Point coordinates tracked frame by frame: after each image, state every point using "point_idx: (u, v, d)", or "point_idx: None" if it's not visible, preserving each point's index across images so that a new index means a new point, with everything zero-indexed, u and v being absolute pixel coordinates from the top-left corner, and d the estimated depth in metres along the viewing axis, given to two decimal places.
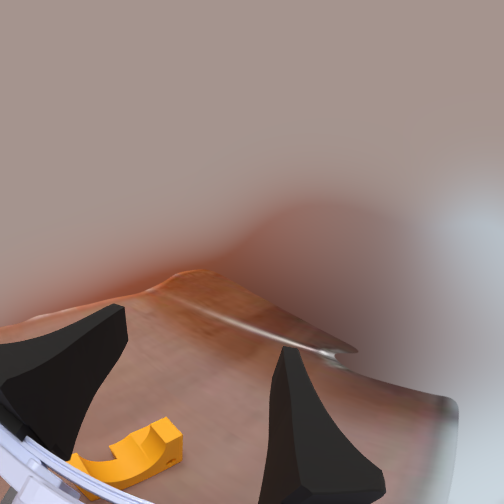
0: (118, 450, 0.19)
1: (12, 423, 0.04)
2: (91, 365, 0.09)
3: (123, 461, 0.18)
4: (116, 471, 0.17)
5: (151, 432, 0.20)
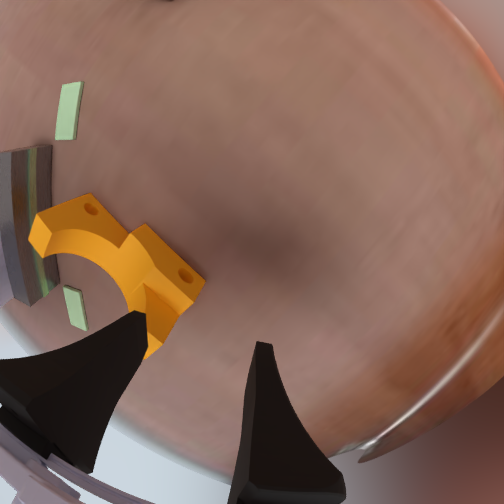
0: (130, 247, 0.18)
1: (36, 441, 0.04)
2: (113, 375, 0.09)
3: (119, 258, 0.18)
4: (101, 253, 0.18)
5: None
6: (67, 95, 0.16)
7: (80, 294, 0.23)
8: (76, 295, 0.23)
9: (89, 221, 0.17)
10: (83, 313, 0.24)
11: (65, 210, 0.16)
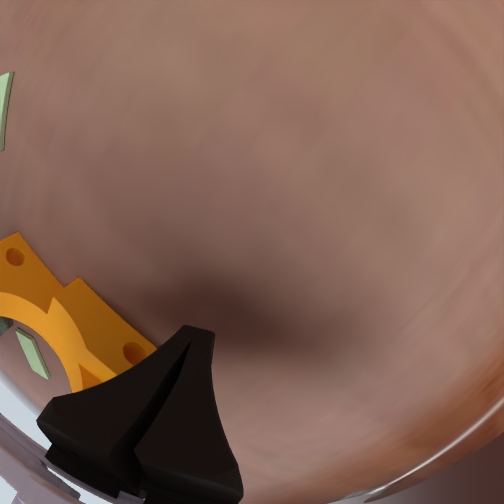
0: (58, 315, 0.11)
1: (104, 482, 0.04)
2: None
3: (50, 325, 0.11)
4: (30, 317, 0.11)
5: None
6: None
7: (33, 342, 0.16)
8: (29, 342, 0.16)
9: (10, 276, 0.10)
10: (41, 362, 0.17)
11: None
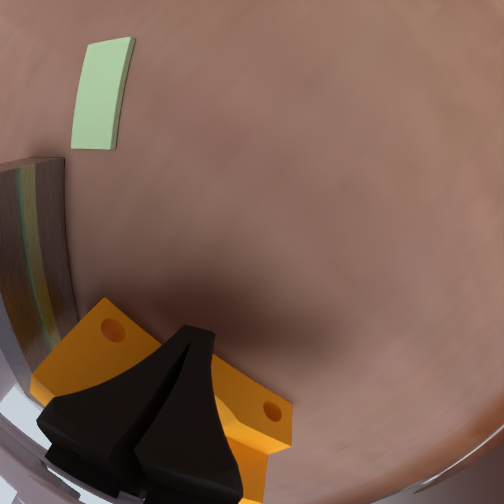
0: None
1: (104, 482, 0.04)
2: None
3: None
4: None
5: None
6: (99, 63, 0.08)
7: None
8: None
9: (117, 357, 0.11)
10: None
11: (75, 349, 0.09)
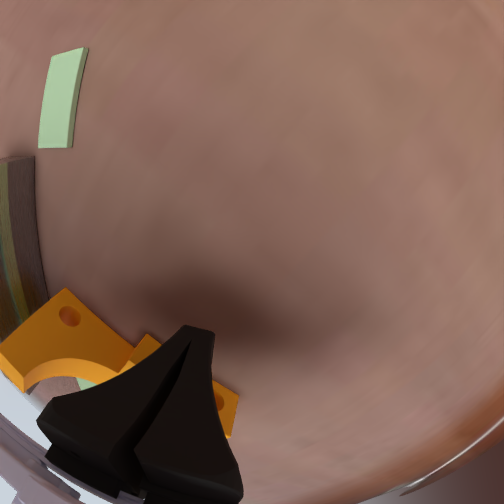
0: None
1: (104, 482, 0.04)
2: None
3: None
4: (96, 375, 0.12)
5: None
6: (59, 72, 0.08)
7: None
8: None
9: (70, 339, 0.11)
10: None
11: (34, 330, 0.10)
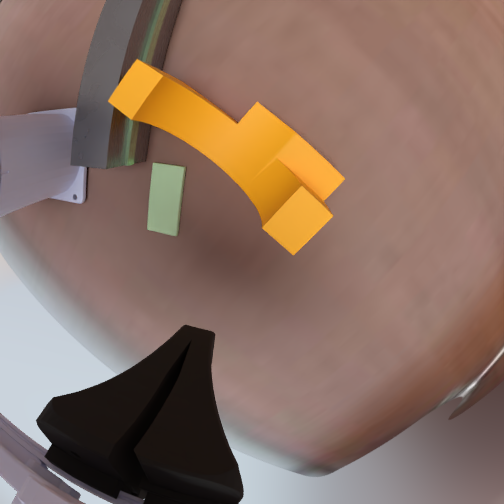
0: (255, 120, 0.14)
1: (104, 482, 0.04)
2: None
3: (235, 136, 0.15)
4: (208, 132, 0.14)
5: (292, 185, 0.12)
6: None
7: (184, 171, 0.18)
8: (178, 171, 0.18)
9: (195, 93, 0.14)
10: (179, 204, 0.18)
11: (166, 74, 0.12)
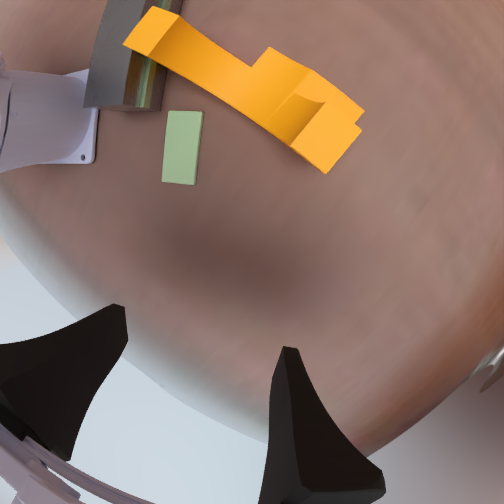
0: (269, 63, 0.13)
1: (12, 423, 0.04)
2: (91, 365, 0.09)
3: (250, 78, 0.13)
4: (223, 76, 0.13)
5: (316, 107, 0.11)
6: None
7: (202, 116, 0.16)
8: (195, 116, 0.16)
9: None
10: (197, 150, 0.17)
11: None
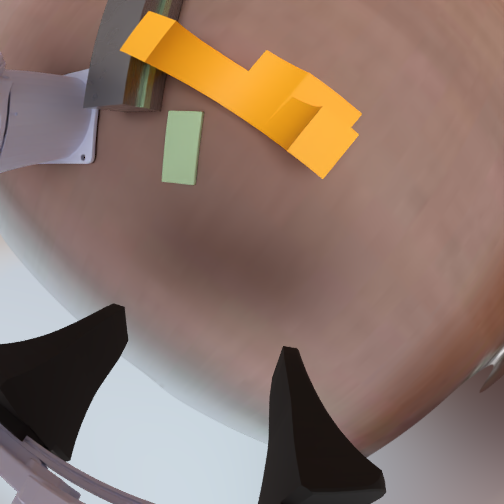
0: (267, 66, 0.13)
1: (12, 423, 0.04)
2: (91, 365, 0.09)
3: (248, 82, 0.13)
4: (220, 81, 0.13)
5: (313, 112, 0.11)
6: None
7: (202, 116, 0.16)
8: (195, 116, 0.16)
9: None
10: (197, 150, 0.17)
11: None
